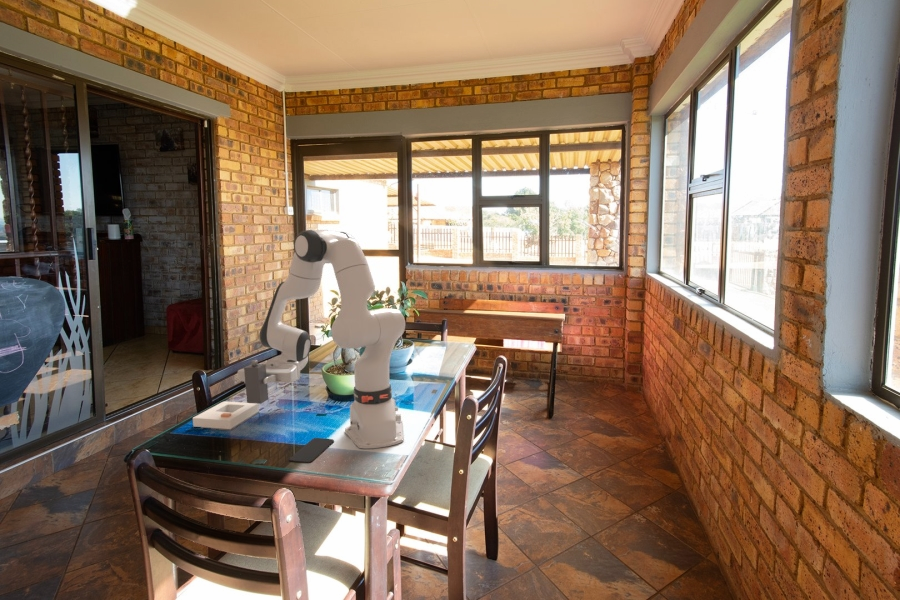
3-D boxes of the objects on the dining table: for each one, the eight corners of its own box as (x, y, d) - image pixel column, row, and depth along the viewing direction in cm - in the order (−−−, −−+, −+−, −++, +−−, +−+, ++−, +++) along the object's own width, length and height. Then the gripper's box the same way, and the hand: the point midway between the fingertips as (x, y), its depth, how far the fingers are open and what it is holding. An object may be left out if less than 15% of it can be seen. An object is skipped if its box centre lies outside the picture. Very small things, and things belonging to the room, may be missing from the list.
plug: (255, 398, 168) (251, 358, 166) (268, 399, 167) (265, 359, 165) (247, 402, 164) (243, 362, 162) (260, 403, 163) (257, 362, 161)
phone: (287, 459, 142) (313, 437, 156) (287, 462, 142) (313, 439, 156) (310, 462, 140) (335, 439, 154) (311, 465, 140) (335, 441, 154)
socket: (224, 410, 182) (223, 399, 182) (258, 412, 179) (258, 401, 179) (193, 427, 167) (192, 415, 166) (230, 430, 164) (229, 418, 163)
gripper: (250, 360, 178) (225, 371, 165) (302, 361, 174) (281, 372, 161) (252, 377, 179) (227, 389, 166) (304, 379, 175) (283, 391, 162)
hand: (254, 381), depth 163 cm, fingers closed on plug, 5 cm apart
